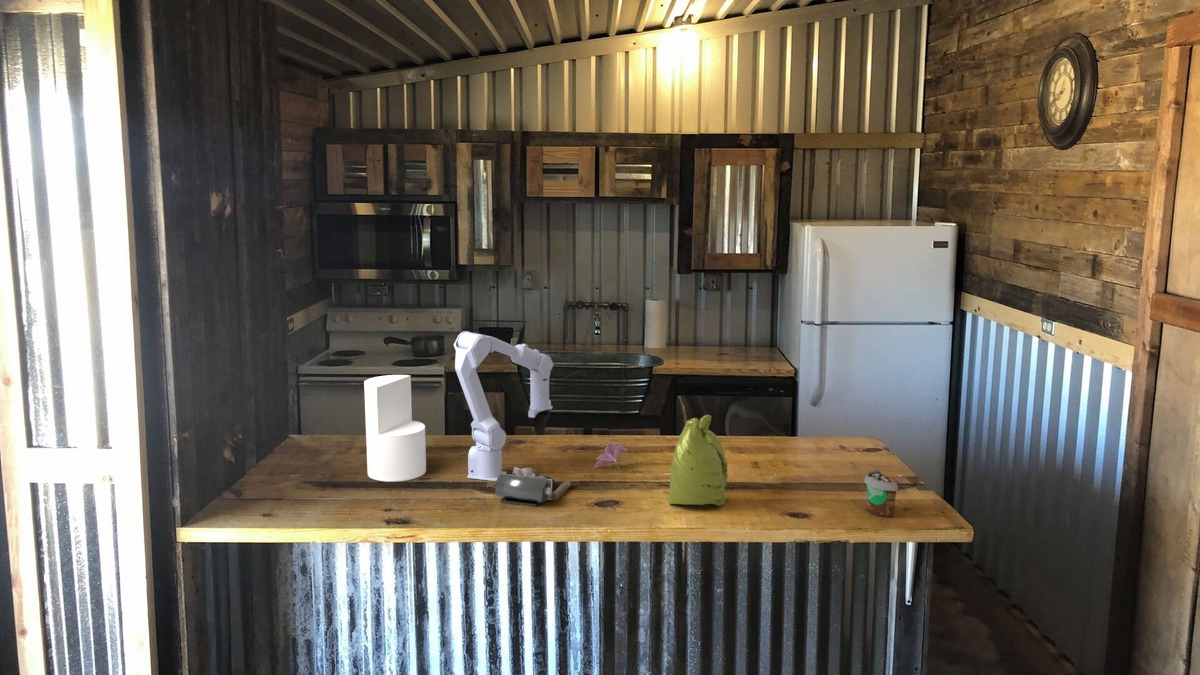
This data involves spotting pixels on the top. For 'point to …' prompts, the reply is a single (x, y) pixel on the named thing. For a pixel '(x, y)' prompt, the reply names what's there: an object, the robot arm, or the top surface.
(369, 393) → the cylinder
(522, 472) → the caster wheel
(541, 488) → the motor mount
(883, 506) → the food container
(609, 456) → the lily
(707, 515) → the top surface
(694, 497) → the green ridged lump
